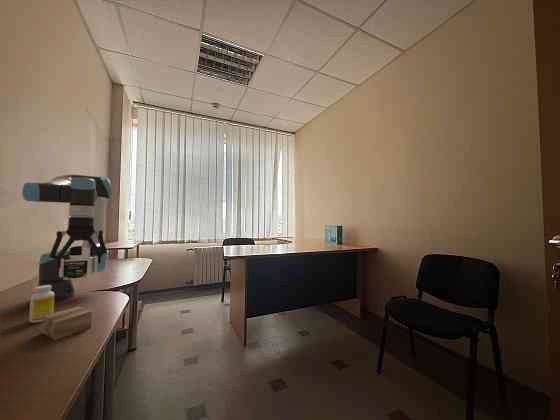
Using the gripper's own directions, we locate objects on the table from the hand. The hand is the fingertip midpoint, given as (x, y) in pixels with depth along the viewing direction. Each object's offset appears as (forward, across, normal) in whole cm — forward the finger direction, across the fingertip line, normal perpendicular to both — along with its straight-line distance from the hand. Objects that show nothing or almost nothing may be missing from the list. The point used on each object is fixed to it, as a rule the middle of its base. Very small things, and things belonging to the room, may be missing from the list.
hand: (78, 274), depth 88 cm
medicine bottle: (+1, 0, 0) cm, 1 cm away
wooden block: (+19, -3, -5) cm, 20 cm away
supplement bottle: (+18, -8, +13) cm, 24 cm away
